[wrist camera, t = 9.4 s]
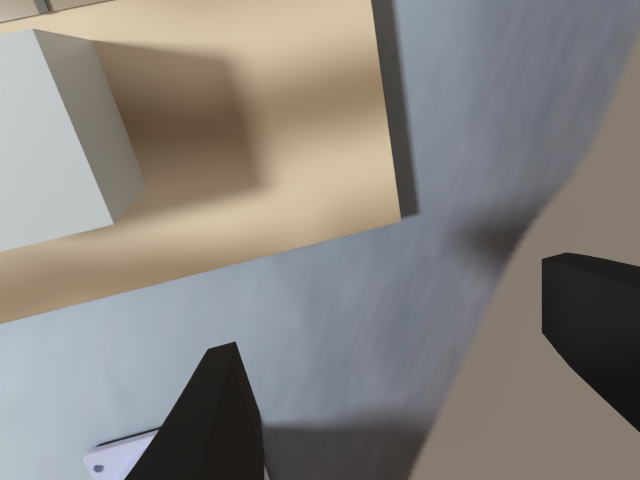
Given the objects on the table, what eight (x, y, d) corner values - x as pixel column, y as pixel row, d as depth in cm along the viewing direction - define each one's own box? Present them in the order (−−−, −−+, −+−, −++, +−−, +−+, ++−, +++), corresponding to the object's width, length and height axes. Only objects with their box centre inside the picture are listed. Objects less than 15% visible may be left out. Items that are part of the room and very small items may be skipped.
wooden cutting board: (392, 213, 20) (403, 223, 18) (-221, 368, 18) (-258, 392, 16) (340, -147, 15) (349, -168, 13) (-527, 14, 13) (-616, 8, 11)
